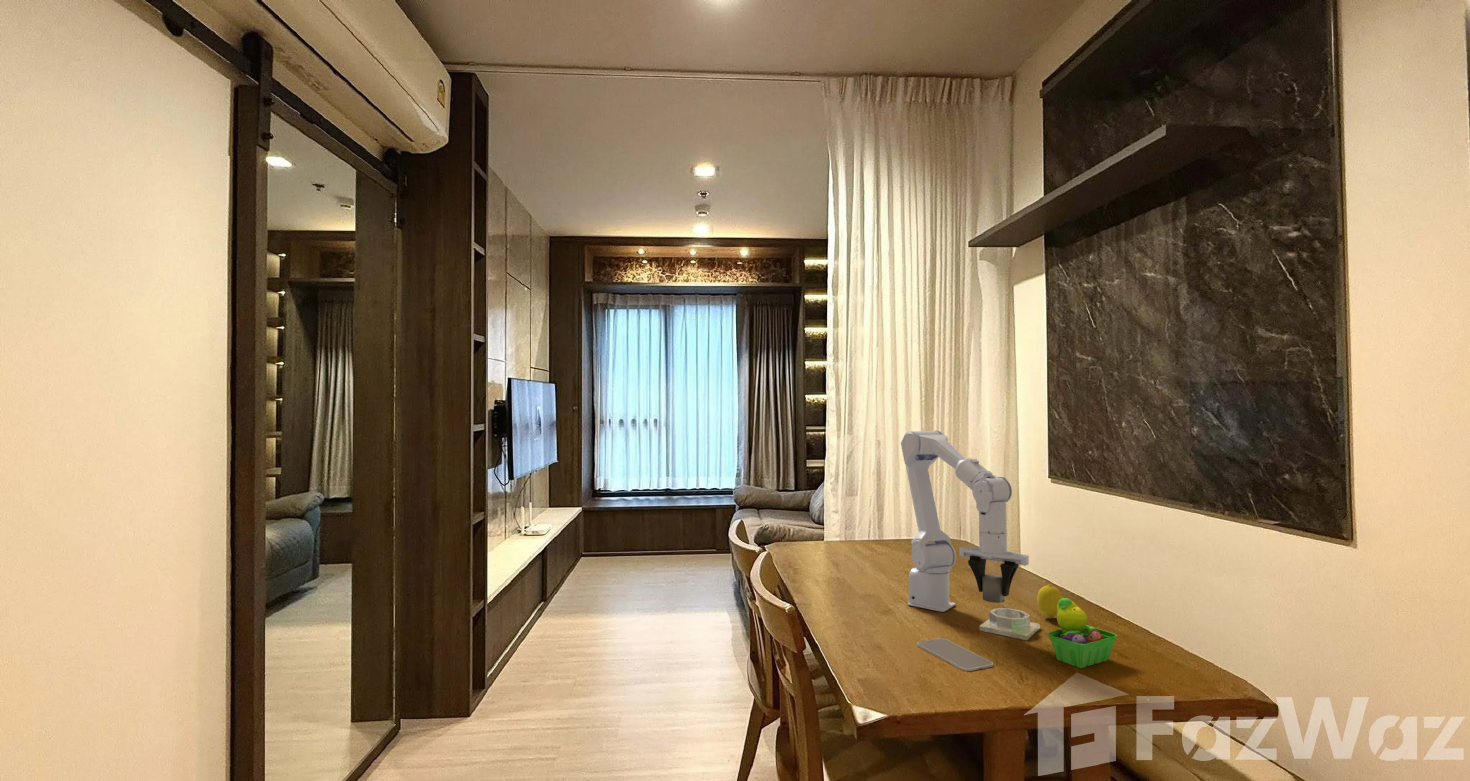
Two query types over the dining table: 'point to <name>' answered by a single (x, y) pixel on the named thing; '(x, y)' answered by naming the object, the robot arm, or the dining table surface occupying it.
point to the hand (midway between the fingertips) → (993, 592)
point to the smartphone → (954, 654)
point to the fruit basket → (1079, 637)
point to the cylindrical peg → (992, 588)
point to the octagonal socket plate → (1010, 623)
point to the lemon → (1048, 600)
